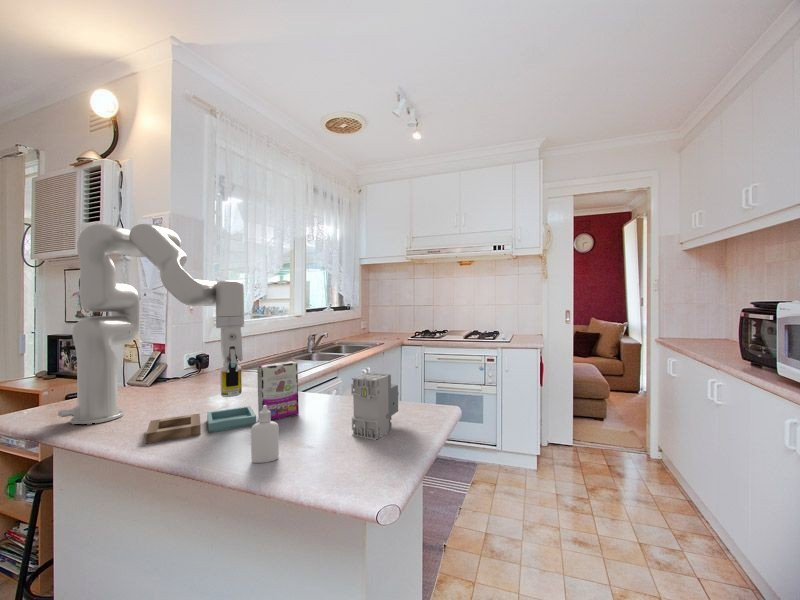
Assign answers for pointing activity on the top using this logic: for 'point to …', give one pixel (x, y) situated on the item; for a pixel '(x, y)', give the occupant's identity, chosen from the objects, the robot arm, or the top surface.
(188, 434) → the brown rectangular holder box
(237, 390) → the supplement bottle
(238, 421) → the tray
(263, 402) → the candy bar box
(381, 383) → the circuit breaker
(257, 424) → the eye dropper bottle
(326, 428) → the top surface
